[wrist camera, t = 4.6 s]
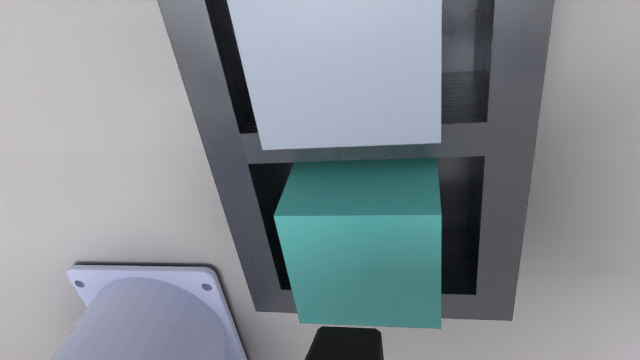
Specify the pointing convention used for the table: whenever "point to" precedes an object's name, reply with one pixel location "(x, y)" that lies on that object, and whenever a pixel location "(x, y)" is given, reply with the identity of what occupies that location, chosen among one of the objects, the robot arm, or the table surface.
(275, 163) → the grey compartment tray
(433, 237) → the teal block
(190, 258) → the table surface
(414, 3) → the slate key
